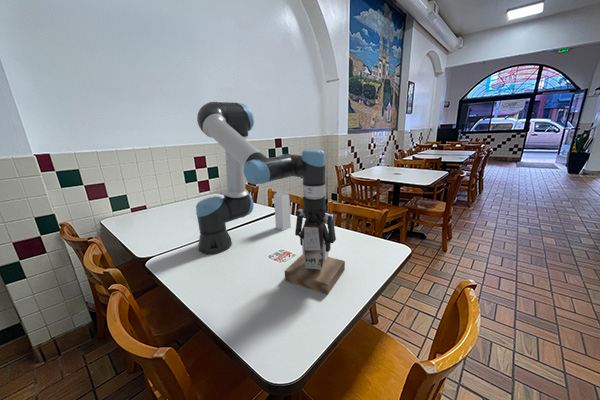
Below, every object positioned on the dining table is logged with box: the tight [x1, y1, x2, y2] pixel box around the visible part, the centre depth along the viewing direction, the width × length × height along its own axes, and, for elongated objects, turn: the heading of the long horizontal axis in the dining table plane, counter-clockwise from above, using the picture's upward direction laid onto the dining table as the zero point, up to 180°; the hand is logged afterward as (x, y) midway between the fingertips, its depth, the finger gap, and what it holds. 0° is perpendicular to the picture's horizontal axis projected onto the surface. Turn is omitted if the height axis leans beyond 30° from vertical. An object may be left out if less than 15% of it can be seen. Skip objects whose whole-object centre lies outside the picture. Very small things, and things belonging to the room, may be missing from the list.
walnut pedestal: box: [284, 253, 346, 295], centre depth 91 cm, size 17×16×4 cm
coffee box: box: [303, 217, 326, 270], centre depth 87 cm, size 9×6×16 cm
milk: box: [273, 188, 292, 232], centre depth 132 cm, size 6×6×22 cm
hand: (315, 255), depth 89 cm, fingers closed on coffee box, 8 cm apart
